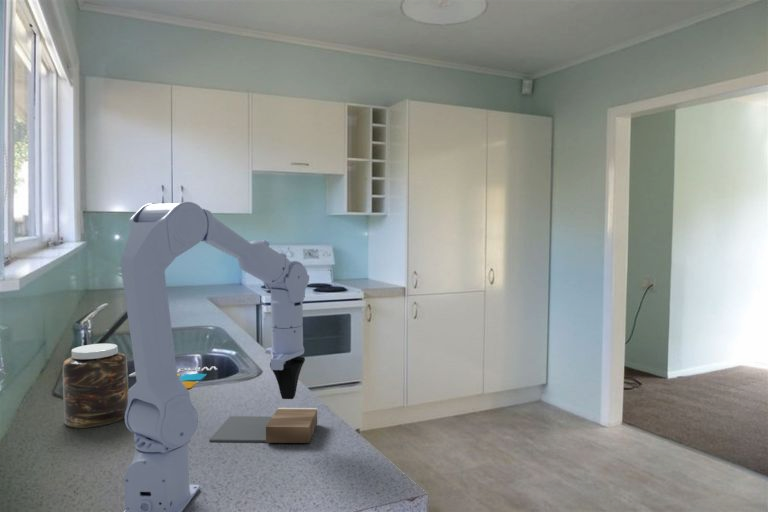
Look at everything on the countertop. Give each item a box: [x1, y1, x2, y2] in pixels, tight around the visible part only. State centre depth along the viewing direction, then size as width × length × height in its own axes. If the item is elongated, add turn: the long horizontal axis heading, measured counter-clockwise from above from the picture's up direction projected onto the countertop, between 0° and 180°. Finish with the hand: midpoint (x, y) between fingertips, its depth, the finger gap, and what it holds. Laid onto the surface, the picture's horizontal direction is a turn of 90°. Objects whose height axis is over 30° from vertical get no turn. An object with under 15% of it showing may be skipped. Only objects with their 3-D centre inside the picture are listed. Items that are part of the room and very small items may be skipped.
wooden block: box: [265, 407, 319, 444], centre depth 104 cm, size 3×8×10 cm
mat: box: [209, 415, 273, 443], centre depth 107 cm, size 12×18×1 cm, turn 88°
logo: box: [128, 365, 218, 391], centre depth 140 cm, size 23×1×20 cm
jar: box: [62, 343, 129, 429], centre depth 113 cm, size 12×12×15 cm
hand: (288, 397), depth 100 cm, fingers closed
